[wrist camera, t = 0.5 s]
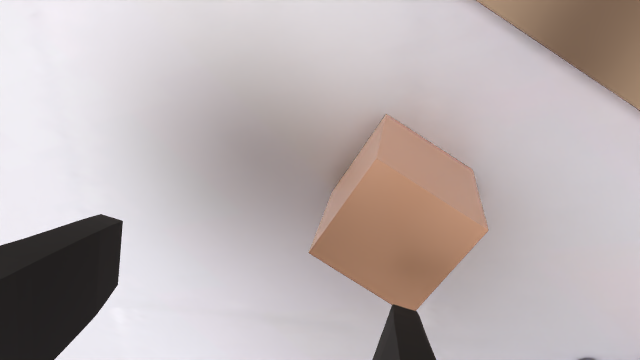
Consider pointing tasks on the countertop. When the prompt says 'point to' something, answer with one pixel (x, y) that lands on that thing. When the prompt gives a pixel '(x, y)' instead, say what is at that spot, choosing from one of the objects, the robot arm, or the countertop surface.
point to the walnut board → (585, 36)
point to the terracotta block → (400, 216)
